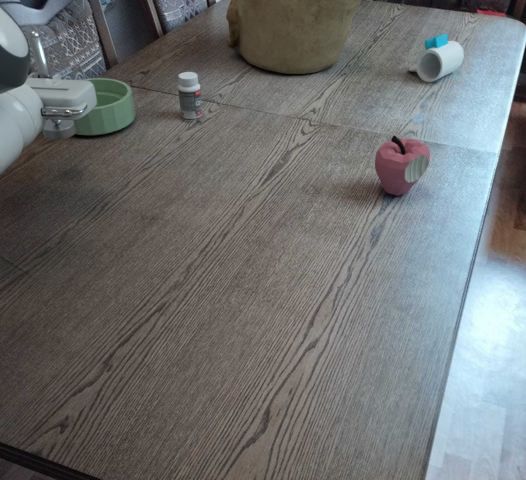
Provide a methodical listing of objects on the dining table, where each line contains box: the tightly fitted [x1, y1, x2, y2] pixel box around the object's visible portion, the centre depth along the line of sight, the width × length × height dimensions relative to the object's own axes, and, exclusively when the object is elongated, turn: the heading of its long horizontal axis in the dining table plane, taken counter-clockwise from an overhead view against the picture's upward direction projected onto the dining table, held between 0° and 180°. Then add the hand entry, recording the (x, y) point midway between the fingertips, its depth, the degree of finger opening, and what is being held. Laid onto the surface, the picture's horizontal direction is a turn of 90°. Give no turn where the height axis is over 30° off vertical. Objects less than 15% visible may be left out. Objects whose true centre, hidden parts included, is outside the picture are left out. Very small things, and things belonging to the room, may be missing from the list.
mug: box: [408, 33, 465, 83], centre depth 137 cm, size 12×9×12 cm
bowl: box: [73, 77, 136, 136], centre depth 117 cm, size 17×17×6 cm
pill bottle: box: [177, 71, 203, 120], centre depth 118 cm, size 5×5×8 cm
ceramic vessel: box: [225, 0, 363, 75], centre depth 139 cm, size 29×42×25 cm
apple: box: [374, 135, 431, 197], centre depth 96 cm, size 10×9×10 cm
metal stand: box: [27, 29, 76, 141], centre depth 92 cm, size 6×6×16 cm
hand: (47, 77), depth 92 cm, fingers closed on metal stand
